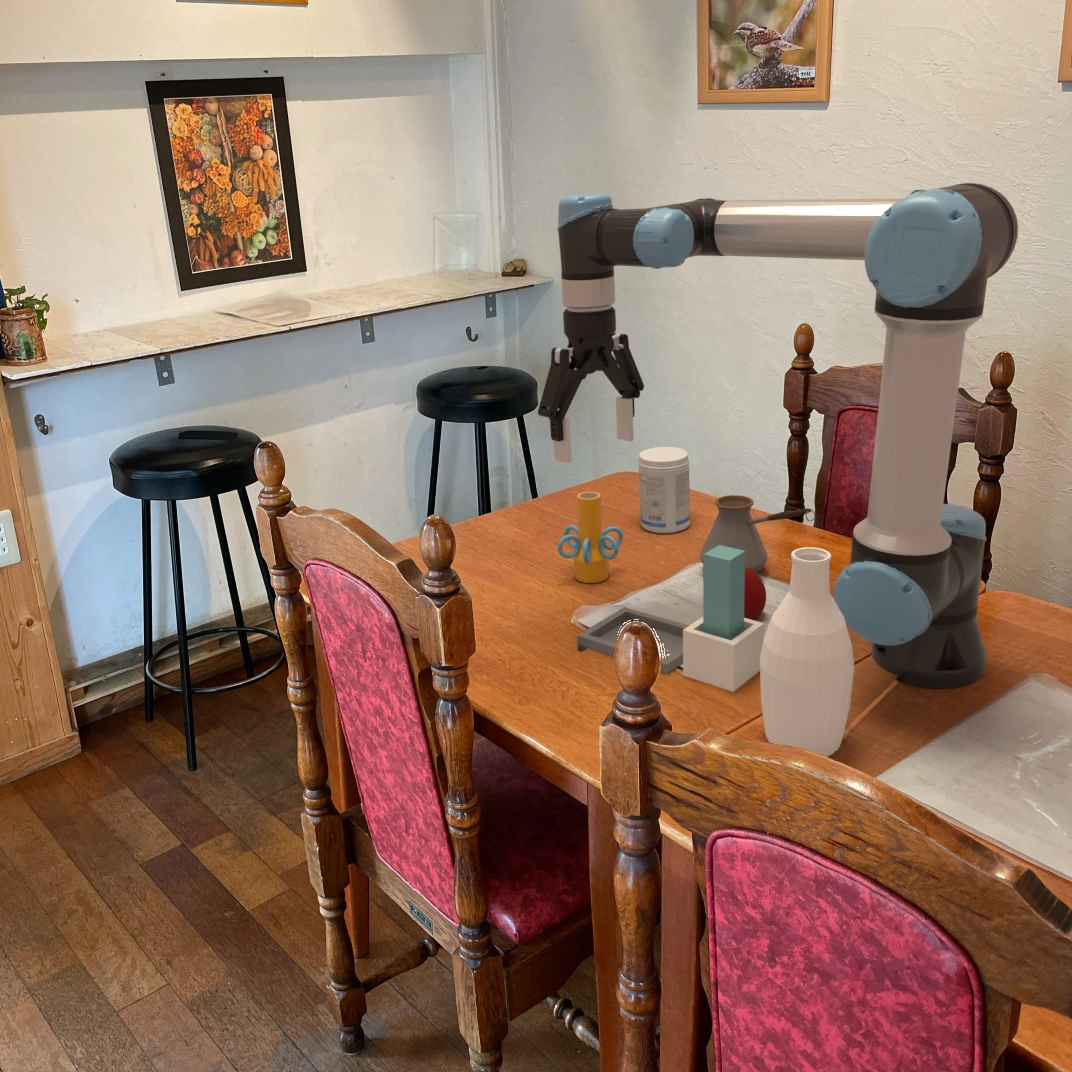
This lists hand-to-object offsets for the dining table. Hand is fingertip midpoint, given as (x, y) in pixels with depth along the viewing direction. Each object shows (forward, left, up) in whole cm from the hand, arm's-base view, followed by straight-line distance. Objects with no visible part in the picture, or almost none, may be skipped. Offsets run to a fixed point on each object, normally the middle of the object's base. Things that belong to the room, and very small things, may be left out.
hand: (595, 450), depth 159 cm
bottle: (-43, +15, -28) cm, 53 cm away
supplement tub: (+14, -39, -28) cm, 50 cm away
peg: (-26, +6, -27) cm, 38 cm away
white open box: (-26, +6, -28) cm, 39 cm away
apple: (-18, -11, -28) cm, 35 cm away
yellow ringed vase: (+11, -12, -28) cm, 32 cm away
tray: (-12, +5, -28) cm, 31 cm away
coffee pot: (-13, -26, -28) cm, 41 cm away
